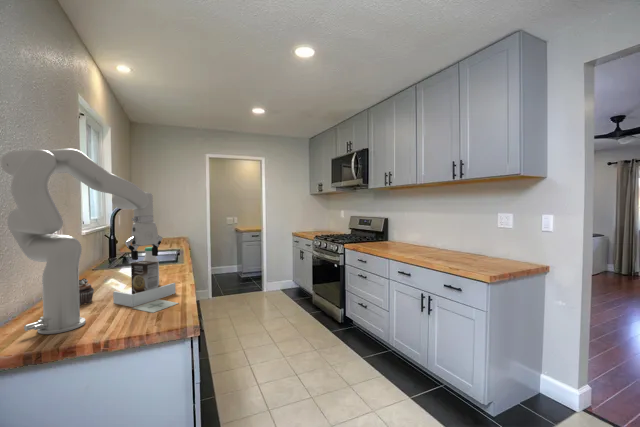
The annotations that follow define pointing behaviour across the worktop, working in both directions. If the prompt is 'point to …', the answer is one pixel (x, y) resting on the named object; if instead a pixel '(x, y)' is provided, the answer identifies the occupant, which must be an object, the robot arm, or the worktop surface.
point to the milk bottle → (151, 258)
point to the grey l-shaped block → (143, 295)
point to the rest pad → (155, 306)
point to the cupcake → (85, 291)
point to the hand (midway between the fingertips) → (145, 257)
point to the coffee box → (144, 276)
